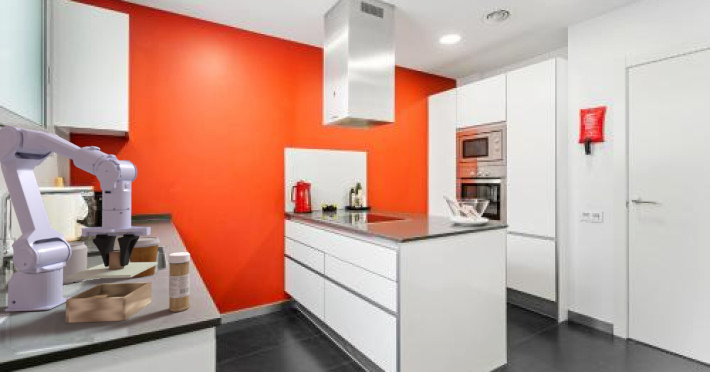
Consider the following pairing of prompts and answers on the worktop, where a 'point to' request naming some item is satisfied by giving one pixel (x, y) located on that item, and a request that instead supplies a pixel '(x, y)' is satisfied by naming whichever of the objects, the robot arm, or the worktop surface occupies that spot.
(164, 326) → the worktop surface
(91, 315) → the box
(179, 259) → the sprinkles bottle
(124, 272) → the lid
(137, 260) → the disposable coffee cup
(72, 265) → the can
